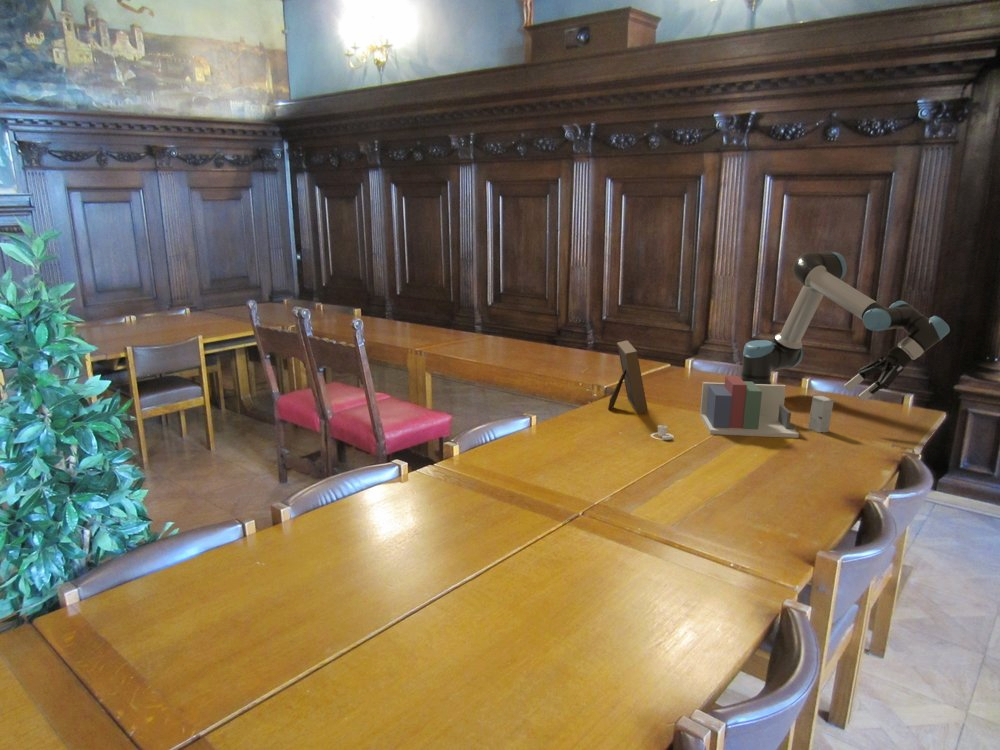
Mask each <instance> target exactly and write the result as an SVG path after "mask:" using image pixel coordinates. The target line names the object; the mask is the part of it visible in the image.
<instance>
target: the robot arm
mask: <svg viewBox="0 0 1000 750" xmlns="http://www.w3.org/2000/svg"><path fill="white" fill-rule="evenodd" d="M847 266H848V265H847V263H846V259H845V257H844V256H843V255H842V254H840V253H839V252H836V251H835V252H834V251H829V250H828V251H819V252H818V251H816V252H813V251H811V252H810V251H809V252H804V253H802V254H800V256H798V257H797V258H796V259H795V260H794V262H793V265H792V274H793V276H794V278H795V280H796V281H798V283H800V284H801V285H802V287H801V290H800V291H799V294H798V296H797V297H796V300H795V302H794V304H793V306H792V308H791V311H790V313H789V315H788V316H787V319H786V321H785V323H784V325H783V327H782V328H781V329H782V330H781V331H780V332H779V333H776V334H775V335H774V338H773V339H772V341H771V340H768V339H759V340H757V339H756V340H750V341H748V342H746V343H745V344H744V348H743V350H742V365H741V374H740V378H741V379H742V380H743V381H749V382H753V383H754V384H769V385H772V382H771V376H772V371H777V370H787V369H788V370H789V369H791V368H794V367H797V366H798V365H799V364H800V363H801V361H802V359H803V356H804V353H803V350H804V349H803V343H802V339H803V337H804V335H805V333H806V331H807V329H808V327H809V326H810V323H811V322H812V319H813V317H814V315H815V313H816V311H817V309H818V307H819V306H820V303H821V301H822V299H823V297H824V296H825V297H826V298H827V299H829V300H831V301H832V302H834V303H836V304H837V305H839V306H840V307H842V308H843V309H844V310H846V311H848V312H850V313H851V314H853V316H856V317H857V318H859V319H860V320H862V323H863V325H864V327H865V328H866V329H867V330H869V331H876V332H881V331H886V330H888V331H889V330H896V329H902V330H904V331H905V332H906V333H908V336H906V337H905V338H903V339H902V340H900V341H899V342H898V343H897V345H896V346H894V347H892V348H891V349H889V350H888V351H887V356H888V357H885V356H883V355H882V356H880V357H879V358H877V359H876V360H874V361H872V362H870V363H868V364H867V365H864V366H863V367H861V368H859V369H857V374H856V375H855V376H853V377H852V378H851V379H850V380H849V381H848V382H845V384H844V385H843V386H844V388H845V389H846V390H848V392H850V391H851V390H853V389H854V388H855V387H856V386H858V385H859V384H860V383H862V382H863V381H864V380H866V378H867V377H870V376H872V375H875V374H877V373H881V374H880V376H879V378H878V379H877V380H876V381H874V383H872V384H871V385H870V386H868V387H867V388H866V389H865V390H862V392H860V394H859V395H858V396H859V398H861V401H863V402H866V401H867V400H868V399H870V398H871V397H872V396H873V395H874V394H876V393H877V392H878V391H880V390H883V389H884V390H888V388H889V387H890V386H891V384H892V383H893V382H894V381H895V380H896V378H897V377H898V375H900V374H901V373H902V372H903V371H904V370H905V368H906V367H908V366H909V365H910V364H912V362H913V360H916V359H918V358H920V357H921V356H922V354H924V353H926V352H927V351H928V350H929V349H930V348H932V347H933V346H935V345H936V344H937V343H938V342H940V341H942V340H943V338H945V337H946V336H947V335H948V334H949V333H950V331H951V329H950V326H949V324H948V323H947V322H946V321H944V319H942V317H939V316H937V315H933V316H932V317H929V318H928V317H927V316H925V315H924V314H922V313H921V312H920V311H918V310H917V309H916V308H914V307H913V306H912V305H911V304H909V303H907V302H906V301H904V300H897V301H896V302H894V303H891V305H890V306H889V307H886V306H883V305H882V304H880V303H879V302H877V301H875V300H874V299H872V298H871V297H869V296H868V295H866V294H864V293H862V292H861V291H859V290H858V289H856V288H854V287H853V286H851V285H849V284H848V283H846V282H845V281H843V280H842V279H843V278H844V277H845V276H846V273H847V271H848V269H847V268H848V267H847Z"/></svg>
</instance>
